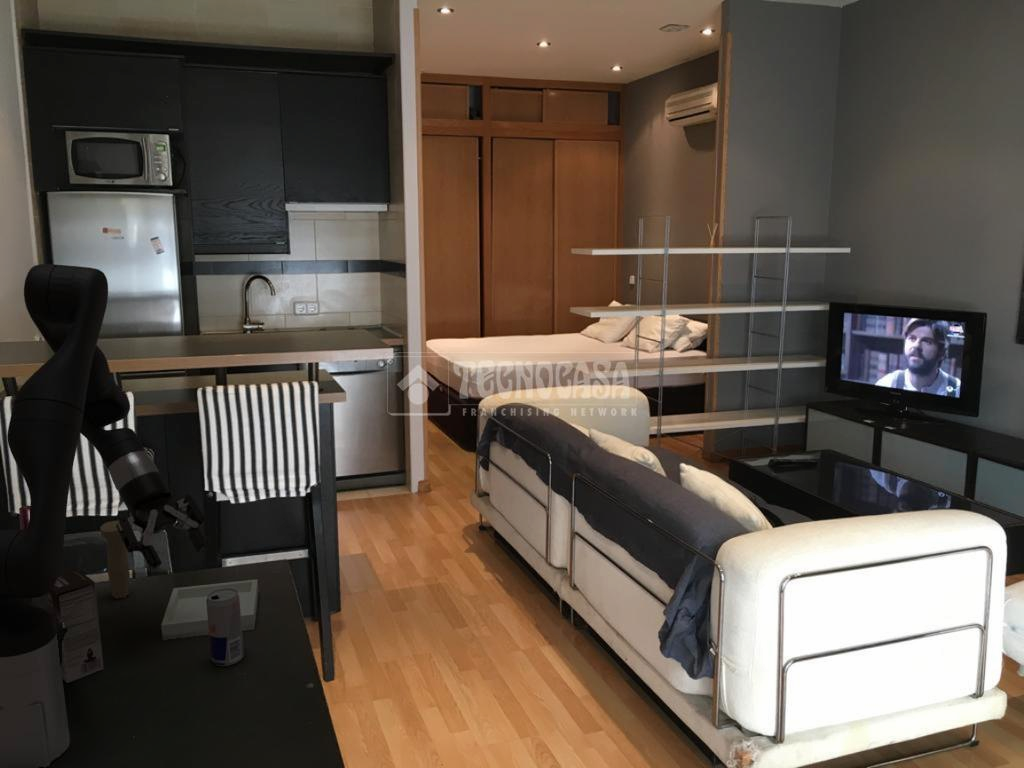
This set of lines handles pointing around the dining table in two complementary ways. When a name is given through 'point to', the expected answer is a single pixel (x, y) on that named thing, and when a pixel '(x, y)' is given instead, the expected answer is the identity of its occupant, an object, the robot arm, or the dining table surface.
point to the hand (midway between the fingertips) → (180, 557)
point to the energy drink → (225, 627)
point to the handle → (116, 560)
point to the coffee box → (77, 624)
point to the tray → (205, 609)
